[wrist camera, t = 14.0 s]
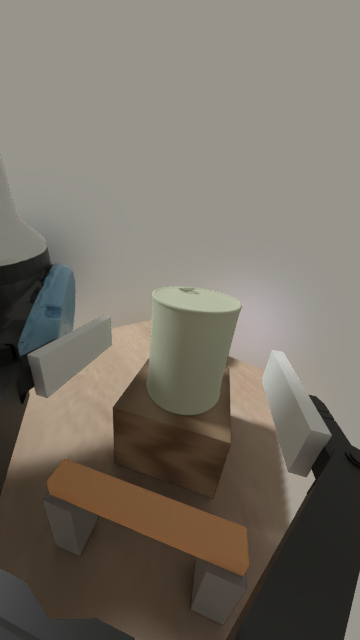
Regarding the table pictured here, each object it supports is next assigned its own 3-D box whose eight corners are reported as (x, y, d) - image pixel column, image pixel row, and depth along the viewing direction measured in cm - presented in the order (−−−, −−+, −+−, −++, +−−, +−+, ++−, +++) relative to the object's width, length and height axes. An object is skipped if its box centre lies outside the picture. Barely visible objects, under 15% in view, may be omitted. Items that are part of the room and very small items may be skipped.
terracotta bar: (49, 494, 14) (46, 481, 13) (66, 470, 15) (64, 458, 14) (242, 576, 11) (249, 565, 11) (240, 539, 13) (246, 527, 12)
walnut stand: (114, 462, 22) (112, 407, 19) (151, 393, 33) (154, 350, 30) (213, 498, 20) (230, 443, 17) (217, 411, 31) (229, 367, 28)
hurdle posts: (55, 544, 16) (42, 500, 13) (76, 509, 18) (68, 464, 15) (222, 625, 13) (246, 589, 11) (223, 572, 16) (243, 532, 13)
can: (196, 358, 29) (210, 283, 24) (235, 402, 21) (265, 305, 17) (138, 369, 25) (141, 281, 20) (160, 427, 17) (173, 308, 13)
